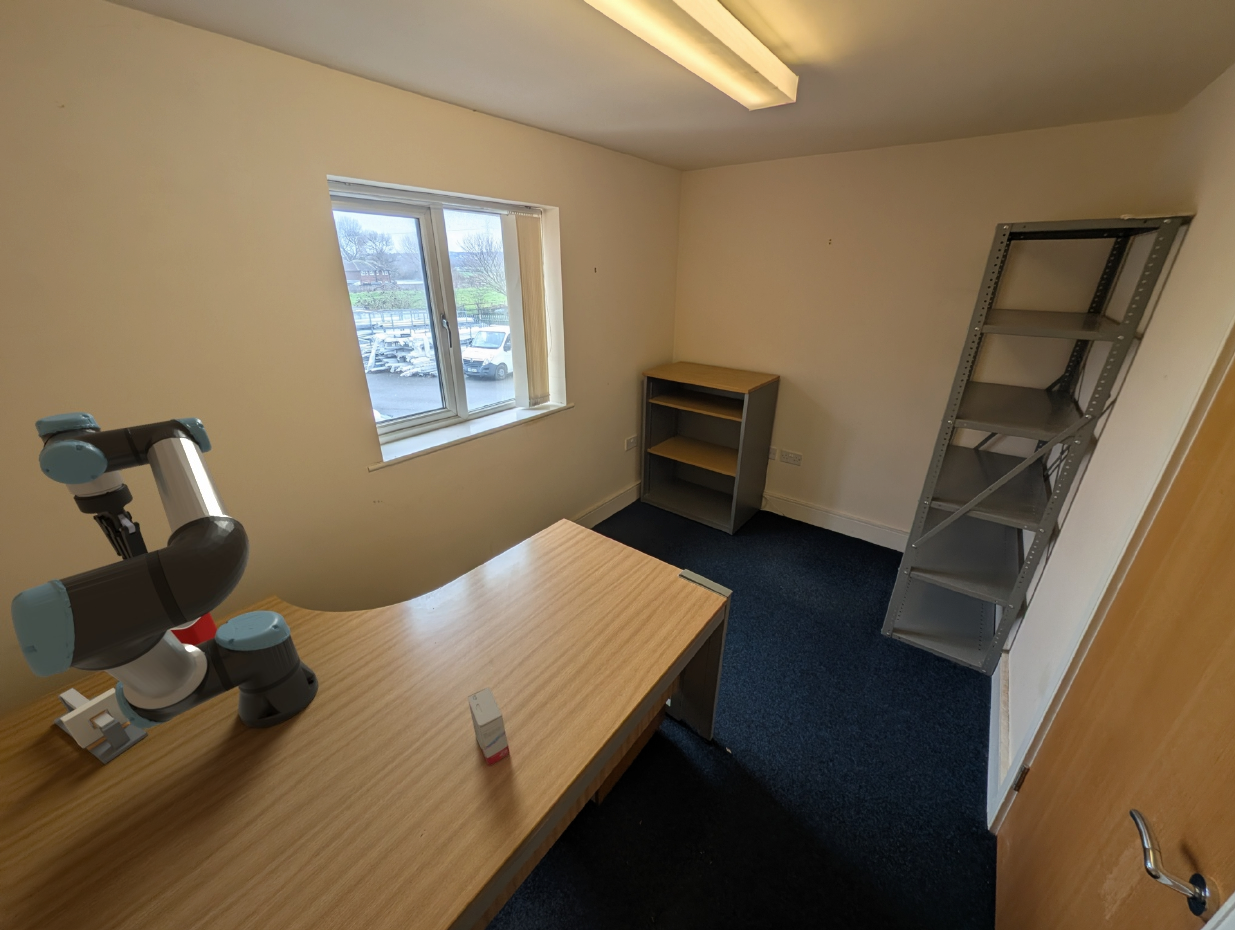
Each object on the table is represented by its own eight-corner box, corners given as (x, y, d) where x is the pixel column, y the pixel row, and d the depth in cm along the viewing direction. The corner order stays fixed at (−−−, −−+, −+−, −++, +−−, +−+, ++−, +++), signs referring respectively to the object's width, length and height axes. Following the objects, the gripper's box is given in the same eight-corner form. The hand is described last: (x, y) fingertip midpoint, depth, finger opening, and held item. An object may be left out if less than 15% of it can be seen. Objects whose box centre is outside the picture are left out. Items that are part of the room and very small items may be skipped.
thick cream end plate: (133, 716, 100) (117, 690, 97) (83, 748, 94) (64, 721, 91) (128, 713, 101) (113, 687, 98) (78, 744, 94) (59, 718, 91)
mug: (226, 636, 125) (212, 606, 121) (203, 660, 118) (188, 628, 113) (179, 639, 124) (164, 609, 120) (154, 663, 117) (137, 631, 113)
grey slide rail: (148, 734, 99) (134, 711, 96) (104, 764, 93) (88, 740, 90) (97, 698, 107) (83, 676, 104) (54, 722, 101) (38, 700, 98)
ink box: (510, 755, 94) (504, 715, 90) (486, 768, 92) (479, 728, 87) (496, 723, 101) (490, 684, 96) (473, 734, 98) (466, 696, 94)
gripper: (140, 487, 92) (184, 581, 101) (108, 476, 97) (153, 567, 106) (89, 503, 85) (141, 602, 95) (58, 490, 90) (110, 586, 100)
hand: (147, 583), depth 100 cm, fingers closed
